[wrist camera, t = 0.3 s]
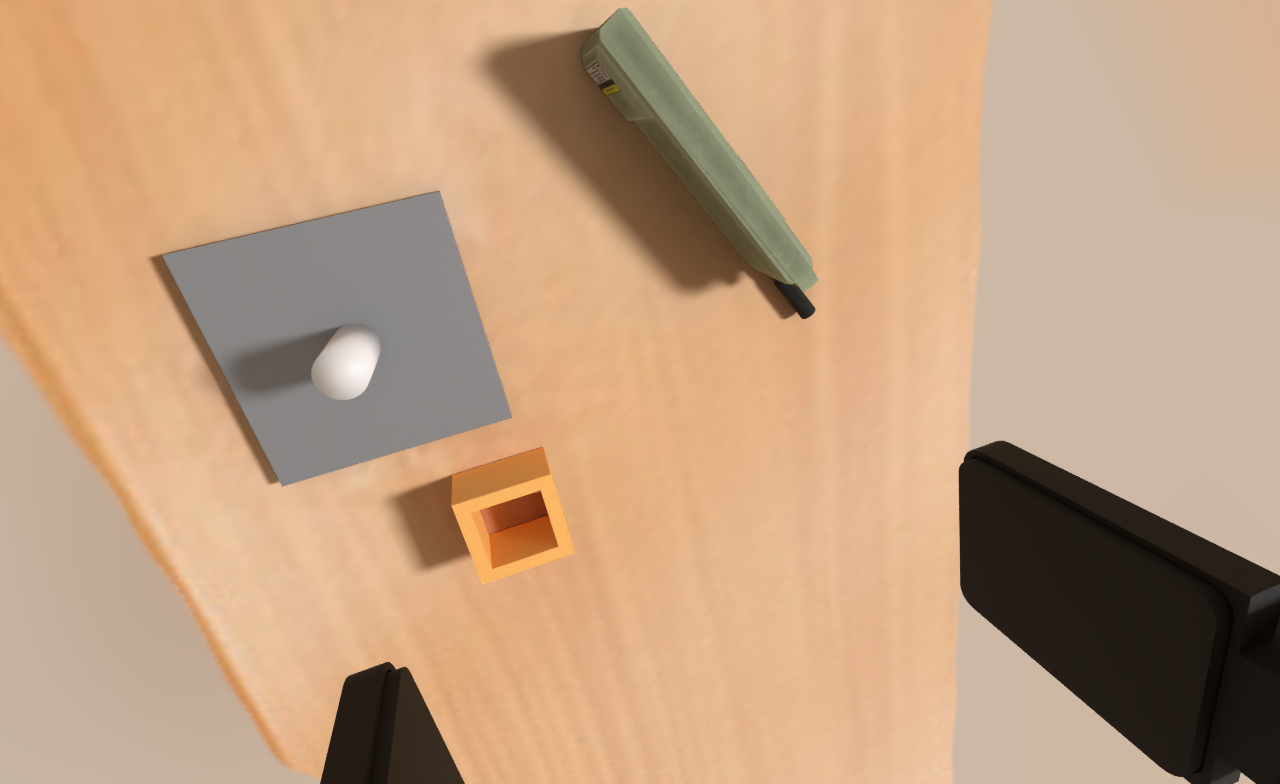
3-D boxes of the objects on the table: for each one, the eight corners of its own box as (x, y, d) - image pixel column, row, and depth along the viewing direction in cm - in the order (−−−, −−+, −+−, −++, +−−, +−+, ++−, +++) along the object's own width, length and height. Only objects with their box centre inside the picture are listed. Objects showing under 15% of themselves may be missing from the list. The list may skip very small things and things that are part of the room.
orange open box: (452, 475, 46) (451, 505, 42) (542, 446, 47) (550, 474, 43) (480, 549, 49) (482, 584, 44) (565, 520, 50) (574, 552, 46)
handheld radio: (608, 17, 38) (817, 294, 49) (570, 56, 39) (786, 323, 49) (631, -5, 32) (864, 316, 43) (587, 41, 33) (829, 348, 43)
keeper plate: (169, 253, 36) (108, 272, 30) (439, 190, 39) (435, 197, 33) (285, 479, 43) (255, 535, 36) (510, 412, 45) (519, 453, 39)
